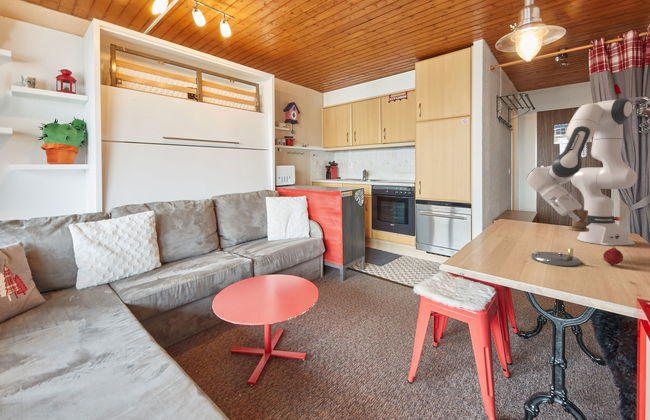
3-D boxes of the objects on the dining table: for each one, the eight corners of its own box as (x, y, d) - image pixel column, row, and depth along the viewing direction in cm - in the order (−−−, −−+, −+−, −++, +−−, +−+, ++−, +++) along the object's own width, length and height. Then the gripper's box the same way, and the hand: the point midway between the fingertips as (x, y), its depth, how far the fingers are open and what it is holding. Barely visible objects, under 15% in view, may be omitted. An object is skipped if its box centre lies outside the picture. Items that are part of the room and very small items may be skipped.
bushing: (581, 228, 136) (583, 209, 135) (593, 231, 129) (595, 211, 128) (564, 228, 137) (566, 209, 136) (575, 231, 130) (577, 211, 129)
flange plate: (563, 254, 137) (565, 241, 136) (590, 266, 120) (592, 252, 120) (523, 253, 140) (524, 241, 139) (544, 266, 123) (545, 251, 122)
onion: (625, 268, 118) (628, 248, 117) (608, 267, 119) (611, 248, 118) (614, 263, 124) (617, 244, 122) (598, 262, 125) (601, 244, 124)
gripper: (555, 193, 130) (581, 218, 124) (570, 190, 142) (594, 212, 136) (542, 203, 134) (567, 227, 128) (557, 199, 146) (581, 221, 140)
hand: (581, 219), depth 132 cm, fingers closed on bushing, 5 cm apart
